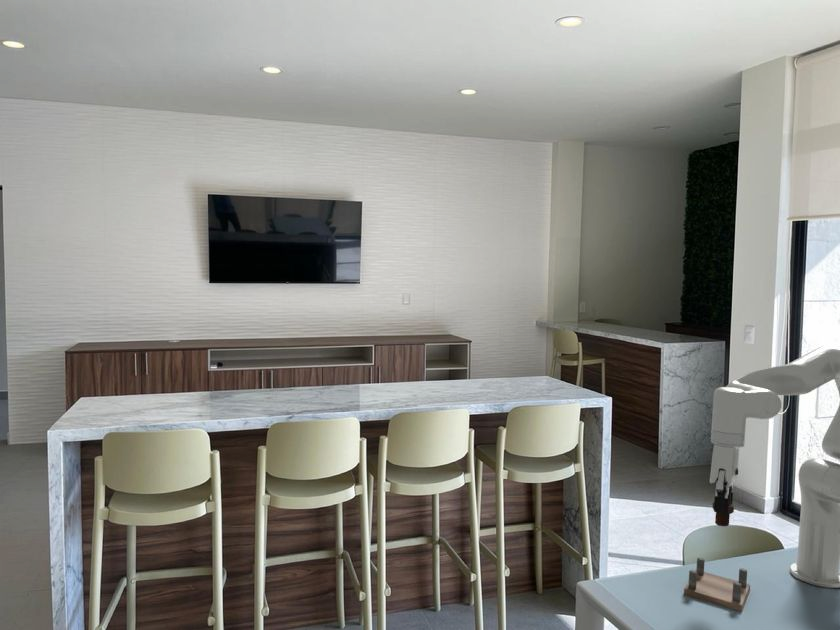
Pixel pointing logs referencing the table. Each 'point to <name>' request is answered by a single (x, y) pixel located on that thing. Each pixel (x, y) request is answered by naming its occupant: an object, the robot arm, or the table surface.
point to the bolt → (724, 518)
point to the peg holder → (717, 587)
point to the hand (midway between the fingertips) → (723, 508)
